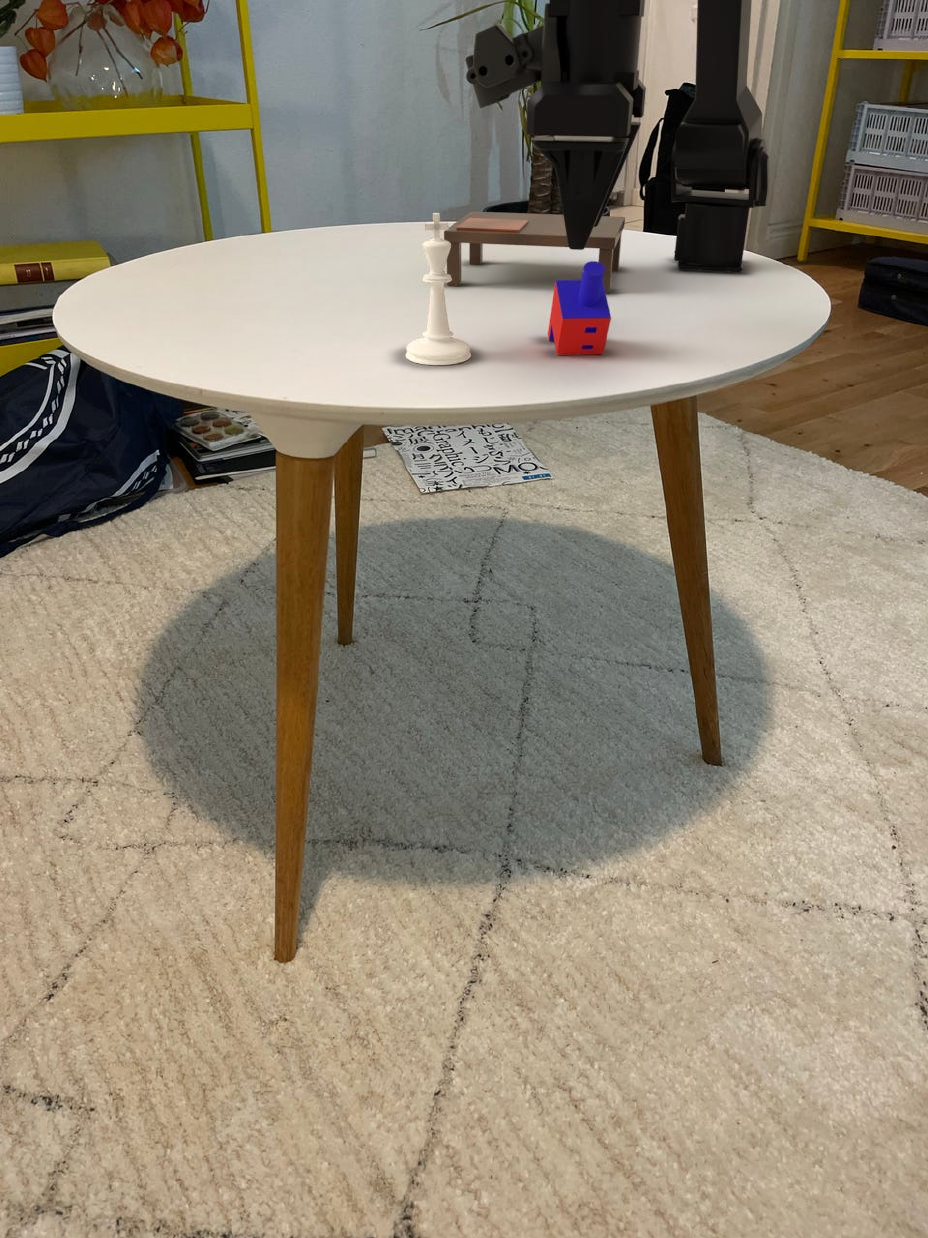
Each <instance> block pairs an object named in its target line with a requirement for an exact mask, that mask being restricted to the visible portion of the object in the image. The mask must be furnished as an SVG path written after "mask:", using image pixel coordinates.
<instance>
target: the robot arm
mask: <svg viewBox="0 0 928 1238" xmlns="http://www.w3.org/2000/svg"><path fill="white" fill-rule="evenodd" d="M752 3H753V0H697V4H696V7H697V9H696V42H695V43H696V45H695V46H696V47H695V48H696V50H695V52H696V53H695V87H694V88H695V91H694V100H693V101H692V103H691V105H690V106H689V108H688V110H687V111H686V114H685V115H684V117H683V119H682V120H681V122H680V124H679V125H678V127H677V129H676V131H675V133H674V136H675V138H674V139H675V140H674V143H673V146H672V152H671V159H670V169H671V170H670V194H671V196H670V201H671V203H685V211H684V214H682V213H681V214H680V215H679V216H678V218H677V228H676V236H675V247H674V257H673V260H674V261H675V262H677V269H678V270H682V271H683V270H684V271H702V272H703V271H704V272H705V271H706V272H725V273H726V272H727V273H742V272H743V270H744V263H743V257H744V250H745V244H746V238H747V237H746V236H747V231H748V222H749V215H750V209H755V208H756V207H757V208H758V207H766V206H767V205H768V199H769V193H770V156H769V154H768V150H767V149H768V148H767V141H766V139H765V138H763V112H762V110H761V107H760V106H759V104H758V103H757V101H756V99H755V98H754V96H753V94H752V92H751V90H750V88H749V86H748V70H749V69H748V68H749V51H750V36H751V35H750V34H751V20H752V18H751V17H752ZM645 6H646V0H549V2H546V3H545V4H544V16H543V25H541V26H539V27H536V28H534V29H531V30H528V31H527V32H522V33H520V34H517V36H514V37H512V36H511V35H510V34H509V32H508V31H507V30H506V29H505V28H504V27H503V26H502V25H501V24H494V25H492V26H490V27H488V28H485V29H483V30H481V31H479V32H476V33H475V36H474V46H473V54H471V55H468V56H466V57H465V59H464V61H465V64H466V68H467V72H466V74H465V75H466V76H465V78H466V81H467V82H468V84H471V85H472V87H473V90H474V94H475V96H476V100H477V104H478V106H479V109H484V108H485V107H489V106H492V105H495V104H497V103H500V102H502V101H505V100H507V99H509V98H510V97H511V95H512V94H513V93H516V92H518V91H520V90H523V89H526V88H528V87H531V86H533V85H536V84H538V83H540V86H539V87H538V88H537V89H536V91H535V92H534V93H533V94H531V96H530V97H529V98H528V99H527V101H526V126H525V128H526V129H525V130H526V131H525V132H526V133H525V134H526V135H527V136H534V137H533V138H532V139H530V142H531V145H532V146H533V147H534V148H535V149H536V150H538V151H539V152H540V153H541V154H542V155H543V156H544V157H545V158H546V159H547V161H549V163H550V164H551V165H552V166H553V169H554V171H555V175H556V180H557V186H558V192H559V198H560V204H561V210H562V215H563V217H564V223H565V229H566V235H567V241H568V247H567V248H568V249H570V250H573V251H574V250H575V251H583V250H585V249H586V248H585V247H586V244H587V242H588V240H589V237H590V235H591V232H592V230H593V227H597V226H598V224H599V222H600V220H601V217H602V216H604V215H603V214H604V212H605V210H606V207H607V205H608V202H609V200H610V199H611V195H612V194H613V190H614V188H615V186H616V183H617V182H618V179H619V177H620V174H621V172H622V171H623V167H624V164H625V163H626V161H627V157H628V156H629V153H630V151H631V148H632V147H633V144H634V141H635V139H636V137H637V134H638V132H639V130H640V127H641V126H642V122H640V121H632V120H633V118H635V119H636V118H637V119H642V118H643V117H644V115H645V114H644V113H645V104H646V103H645V102H646V92H647V91H646V90H647V87H646V86H645V85H644V83H643V82H642V81H641V79H640V70H639V69H638V65H639V53H640V42H641V41H640V40H641V30H642V18H644V17H645ZM693 188H697V189H693ZM698 189H712V190H698ZM713 190H724V191H713ZM725 190H728V191H741V192H727V191H725ZM745 190H748V193H745V192H744V191H745ZM742 192H744V193H742Z"/></svg>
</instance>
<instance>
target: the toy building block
mask: <svg viewBox="0 0 928 1238" xmlns="http://www.w3.org/2000/svg"><path fill="white" fill-rule="evenodd" d="M604 272H605V267H604V266H603V265H602V264H601V263H599V261H595V260H594V261H593V260H591V261H587V262H586V263H585V264H584V265H583V269H582V274H581V279H557V280H555V282H554V288H553V295H552V301H551V308H550V315H549V324H548V330H547V339H548V342H554V346H555V353H556V356H572V355H604V353H605V348H606V343H607V339H608V335H609V334H608V333H609V331H610V324H611V320H612V316H611V312H610V307H609V302H608V297H607V294H606V293H605V288H604V284H603V277H604Z"/></svg>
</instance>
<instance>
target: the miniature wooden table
mask: <svg viewBox="0 0 928 1238" xmlns="http://www.w3.org/2000/svg"><path fill="white" fill-rule="evenodd" d="M625 222H626V217H625V216H611V215H610V216H608V215H602V217H601V220H600V222H599V224H598V226H597V227H593V230H592V232H591V235H590V237H589V240H588V242H587V244H586V247H585V248H584V249H599V250H598V262H599V263H601V264H602V265H603V266H604V267H605V272H604V277H603V284H604V288H605V293H606V295H607V294H608V295H609V294H610V292H611V286H612V285H611V283H612V272H618V271H619V270H620V259H621V246H622V245H621V244H622V234H623V231H624V228H625V224H626V223H625ZM443 240H447V241H449V242H450V243H451V248H450V252H449V254H448V257H447V262H446V274H449V275H451V278H452V281H450V282H448V283H446V286H447V287H460V285H462V244H469V245H468V247H469V248H468V249H469V252H468V253H469V255H468V257H469V260H468V261H469V262H468V263H469V265H474V266H475V265H477V266H480V265H482V264H483V262H484V261H483V259H484V257H483V255H484V253H483V252H484V251H483V250H484V245H500V246H501V245H502V246H503V245H504V246H529V247H550V248H551V247H553V248H569V247H568V241H567V235H566V229H565V223H564V217H563V214H554V213H553V214H551V213H525V212H521V213H520V212H498V211H497V212H494V211H470V212H468V213H466V214H465V215H464V216H462V217H461V218H459V220H457V221H455V222H454V223H453V224H452V225H450V226H449V230H443Z"/></svg>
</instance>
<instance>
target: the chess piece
mask: <svg viewBox="0 0 928 1238" xmlns="http://www.w3.org/2000/svg"><path fill="white" fill-rule="evenodd" d="M440 217H441V214H440V212H433V213H432V222H424V223H423V226H424V231H432V232H433V233H432V234H433V237H432V238H430V239H427V240H425V241H424V242H423V243H422V249H423V252H424V255H425V256H426V262H427V265H428V267H429V270H430V271H428V272H429V273H426V274H424V275H423V276H422V277H423V278H422V282H423V283H427V284H430V291H429V292H430V293H429V305H428V317H427V324H426V330H425V331H423V332H422V336H423V337H419V338H417V339H414V340H412V341H410V342H409V343H408V344H407V345H406V347H405V348H406V353H405V358H406V359H407V360H408V361H410V362H412V363H416V364H421V365H427V366H447V365H448V366H449V365H456V364H460V363H463V362H466V361H467V360H469V359H470V358H471V357H472V353H471V351H470V350H471V346H470V344H469V343H468V342H467V341H465V340H463V339H460V338H457V337H454V334H455V333H454V332H453V331H451V330H450V324H449V320H448V319H449V318H448V311H447V302H446V294H445V284H447V283H448V282H450V281H452V278H451V275H449V274H447V272H446V271H445V268H446V266H447V257H448V254H449V252H450V248H451V243H450V242H449V241H447V240H444V238H443V237H442V238H441V231H445V230H449V227H450V226H449V225H450V223H449V222H441V218H440Z"/></svg>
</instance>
